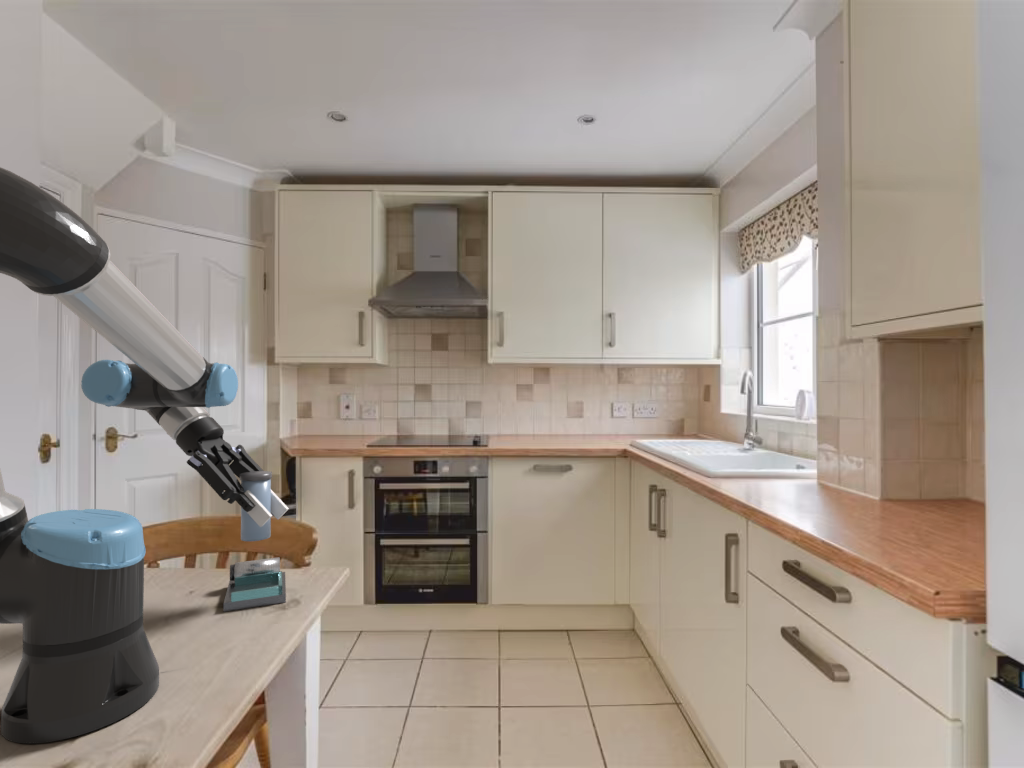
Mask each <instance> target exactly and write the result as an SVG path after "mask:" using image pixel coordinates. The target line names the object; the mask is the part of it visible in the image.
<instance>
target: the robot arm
mask: <svg viewBox="0 0 1024 768" xmlns="http://www.w3.org/2000/svg"><path fill="white" fill-rule="evenodd" d="M0 274H2V275H6V276H8V277H12V278H13V279H16V280H17V281H19V282H21V283H22V284H23V285H25V287H27V288H28V289H30V290H31V291H32V292H34V293H36V294H38V295H42V296H49V297H53V298H55V299H56V300H58V301H59V303H61V304H63V305H64V307H66V308H68V309H69V311H71V312H72V313H74V315H76V316H77V317H78V318H79V319H80V320H82V321H83V322H84V323H85V324H87V325H88V326H89V327H90V328H92V329H93V330H94V332H95V331H96V333H98V334H99V335H100V336H101V337H102V338H103V339H104V340H106V341H107V342H108V343H110V344H111V345H112V346H113V347H114V348H116V349H117V350H118V351H120V352H121V353H122V355H124V356H126V357H127V358H128V359H129V360H131V361H132V362H133V363H126V362H124V361H122V360H111V359H101V360H98V361H95V362H94V363H92V364H90V365H89V366H88V367H87V368H86V369H85V370H84V372H83V374H82V377H81V383H80V385H81V390H82V393H83V395H84V397H86V398H87V399H88V400H89V401H91V402H92V403H95V404H99V405H103V406H105V407H108V408H109V407H116V408H126V409H134V410H140V411H144V412H147V413H148V414H149V416H150V417H151V418H152V419H153V420H154V421H155V422H156V423H157V424H158V425H159V426H161V428H162V430H164V431H165V432H166V434H167V435H168V436H169V437H170V438H171V439H172V440H173V441H175V444H176V445H177V446H178V447H179V449H180V450H182V452H183V453H185V454H186V456H188V457H189V459H188V460H187V461H186V465H188V466H190V467H191V468H192V469H194V470H195V471H196V472H197V473H198V475H200V476H201V478H203V480H204V481H205V482H206V483H207V484H208V485H209V487H211V489H212V490H213V491H214V492H215V493H216V494H217V495H218V496H219V497H220V498H221V500H223V501H227V503H228V504H230V505H231V504H233V503H235V502H236V503H237V504H238V505H239V506H240V508H241V507H242V508H243V509H244V510H245V511H246V512H247V513H248V514H249V515H250V516H251V518H252V519H253V520H254V521H255V522H256V523H257V524H258V525H259V526H260V527H262V526H263V525H264V524H265V523H266V522H267V521H268V520H269V519H270V518H272V517H275V519H277V520H279V519H281V518H282V516H284V515H285V513H287V511H289V510H290V508H289V507H288V506H287V504H285V502H283V500H282V499H281V498H280V497H279V496H278V494H277V493H275V492H274V491H273V490H272V489H271V513H270V512H269V511H268V510H267V509H266V508H265V507H264V506H263V505H262V504H261V503H260V501H259V500H258V499H257V498H256V497H255V496H254V495H253V494H252V493H251V492H250V491H249V490H247V491H246V492H245V493H244V488H243V487H242V485H241V481H239V480H238V479H240V474H241V473H245V472H253V471H264V470H263V469H262V468H261V466H259V464H258V463H257V462H256V461H255V460H254V459H253V458H252V457H251V456H250V455H249V453H248V452H247V451H246V449H245V447H244V446H243V445H241V444H237V446H236V447H235V446H232V445H231V444H230V443H229V442H227V441H226V440H224V438H223V437H224V434H225V433H224V428H223V427H222V426H221V425H220V424H219V422H218V421H216V420H215V419H214V418H213V417H212V416H211V414H210V413H209V412H208V411H207V410H206V409H205V408H207V409H210V408H215V407H226V406H228V405H230V404H232V403H233V402H234V400H235V399H236V397H237V392H238V388H239V378H238V375H237V373H236V370H235V368H234V367H233V366H232V365H230V364H226V363H219V362H214V363H213V362H212V363H211V362H208V361H207V359H206V358H205V357H203V355H202V354H201V353H200V352H199V351H198V350H197V349H196V347H194V346H193V345H192V344H191V343H190V342H189V341H188V340H187V339H186V337H184V335H182V333H181V332H179V330H178V329H177V328H176V327H175V326H174V325H173V324H172V323H171V322H170V321H169V319H167V317H165V316H164V314H162V313H161V311H160V310H159V309H158V308H157V307H156V306H155V305H154V304H153V303H152V302H151V301H150V300H149V299H148V298H147V297H146V296H145V295H144V293H142V292H141V291H140V289H139V288H138V287H136V285H135V284H134V283H133V282H132V281H131V280H130V279H129V278H128V277H127V276H126V275H125V274H124V273H123V272H122V271H121V270H120V269H119V267H118V266H116V265H115V263H114V262H113V261H111V250H110V247H109V245H108V244H107V243H106V241H105V240H104V239H103V238H102V237H101V236H100V235H99V234H98V232H96V230H95V229H93V228H92V226H90V225H89V224H88V223H87V222H86V221H85V220H84V219H83V218H82V217H81V216H80V215H78V214H77V213H76V212H75V211H74V210H72V208H70V207H68V206H67V205H66V204H64V203H63V202H61V200H59V199H58V198H56V196H53V195H52V194H50V193H49V192H48V191H46V190H44V189H42V188H41V187H40V186H38V185H36V184H35V183H33V182H32V181H29V180H27V179H26V178H24V177H22V176H20V175H18V174H16V173H14V172H13V171H10V170H8V169H5V168H3V167H1V166H0ZM2 475H3V474H2V470H1V469H0V625H2V624H3V625H5V624H6V625H11V624H13V625H14V624H22V655H21V656H22V657H21V659H20V663H19V665H18V667H17V670H16V672H15V676H14V678H13V681H12V683H11V684H10V688H9V690H8V693H7V695H6V698H5V700H4V702H3V704H2V708H1V713H0V716H1V717H0V731H1V736H2V737H3V738H5V740H8V741H10V742H14V743H18V744H43V743H45V744H46V743H51V742H57V741H62V740H67V739H70V738H74V737H77V736H82V735H85V734H88V733H90V732H94V731H96V730H97V731H98V730H99V729H101V728H104V727H106V726H109V725H111V724H113V723H115V722H118V721H120V720H121V719H123V718H126V717H127V716H129V715H131V714H132V713H134V712H136V711H137V710H139V708H141V707H143V706H144V705H145V704H147V703H148V702H149V701H150V700H151V699H152V698H153V697H154V696H155V695H156V693H157V691H158V690H159V686H160V667H159V662H158V660H157V658H156V656H155V652H154V650H153V648H152V646H151V644H150V642H149V639H148V637H147V634H146V632H145V628H144V597H145V596H144V595H145V594H144V591H145V590H144V588H145V587H144V586H145V583H144V582H145V556H146V551H147V550H146V546H145V541H144V531H143V525H142V523H141V522H140V521H139V519H138V518H137V517H135V516H134V515H132V514H129V513H127V512H124V511H117V510H111V509H101V508H85V509H66V510H63V509H62V510H58V511H50V512H47V513H46V512H45V513H43V514H39V515H35V516H34V517H31V518H30V519H29V518H28V513H27V509H26V505H25V501H24V499H23V498H22V497H19V496H17V495H14V494H12V493H9V492H7V491H6V490H5V485H4V479H3V476H2Z"/></svg>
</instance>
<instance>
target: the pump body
mask: <svg viewBox="0 0 1024 768" xmlns="http://www.w3.org/2000/svg"><path fill="white" fill-rule="evenodd" d="M271 479H273V472H272V471H270V470H263V471H253V472H245V473H241V474H240V478H239V480H240V484H241V485H242V487H243V488H244V493H245V492H246V491H247V490H249V491H250V492H251V493H252V494H253V495H254V496H255V497H256V498H257V499H258V500H259V501H260V503H261V504H262V505H263V506H264V507H265V508H266V509H267V510H268V511H269V512H270V513H271V490H272V489H271V487H272V483H271V481H272V480H271ZM271 514H272V513H271ZM271 518H272V517H271ZM271 518H270V519H269V520H268V521H267V522H266V523H265V524H264V525H263V526H262V527H260V526H259V525H258V524H257V523H256V522H255V521H254V520H253V519H252V518H251V516H250V515H249V514H248V513H247V512H246V511H245V510H244V509H243V508H242V507H241V506H240V540H241V541H243V542H258V541H263V540H267V539H269V538H271V535H272V534H271V530H272V526H271V525H272V521H271Z"/></svg>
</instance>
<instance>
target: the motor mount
mask: <svg viewBox="0 0 1024 768" xmlns="http://www.w3.org/2000/svg"><path fill="white" fill-rule="evenodd" d="M280 561H281V558H280V557H272V558H270V557H269V558H263V559H256V560H255V559H254V560H247V561H238V562H235V563H234V564H230V566H229V581H228V585H227V590H226V592H225V597H224V601H223V612H233V611H239V610H244V609H250V608H257V607H258V608H259V607H264V606H270V605H278V604H283V603H286V602H287V601H286V597H287V595H286V593H287V592H286V571H281V562H280Z"/></svg>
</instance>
